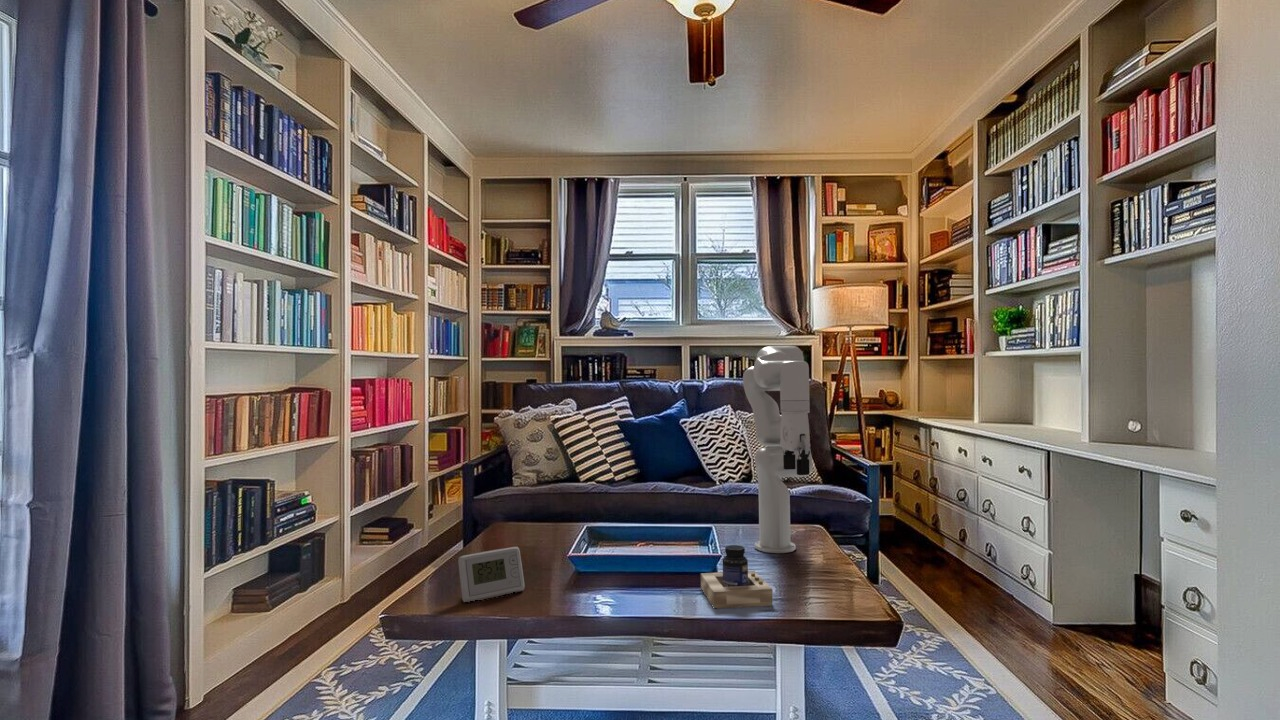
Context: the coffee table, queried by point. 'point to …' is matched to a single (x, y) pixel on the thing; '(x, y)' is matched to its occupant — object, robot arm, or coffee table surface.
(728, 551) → the pill bottle
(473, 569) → the digital clock
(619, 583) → the coffee table surface
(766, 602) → the socket block
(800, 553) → the coffee table surface
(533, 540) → the coffee table surface
